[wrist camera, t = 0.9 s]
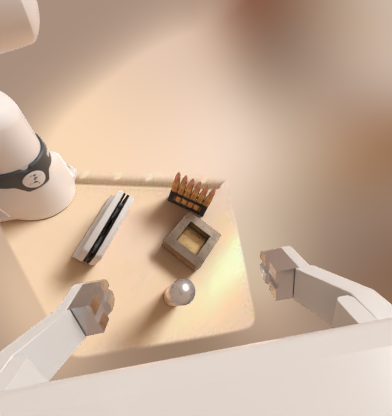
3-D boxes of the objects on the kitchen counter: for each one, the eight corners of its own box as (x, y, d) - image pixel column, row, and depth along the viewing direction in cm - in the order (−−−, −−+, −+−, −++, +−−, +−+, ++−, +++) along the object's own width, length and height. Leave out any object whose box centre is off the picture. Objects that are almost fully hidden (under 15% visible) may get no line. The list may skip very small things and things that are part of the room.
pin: (160, 297, 40) (165, 294, 30) (171, 281, 42) (180, 273, 32) (174, 309, 39) (185, 310, 29) (185, 293, 41) (199, 288, 31)
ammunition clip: (167, 200, 51) (173, 173, 41) (170, 195, 52) (177, 167, 42) (202, 216, 52) (217, 193, 41) (204, 211, 53) (219, 187, 42)
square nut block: (161, 245, 45) (163, 240, 42) (185, 217, 50) (189, 210, 47) (194, 271, 44) (199, 268, 41) (215, 240, 49) (221, 235, 46)
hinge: (110, 196, 48) (118, 179, 40) (127, 205, 49) (138, 190, 42) (70, 258, 39) (71, 252, 31) (93, 267, 41) (99, 263, 33)
